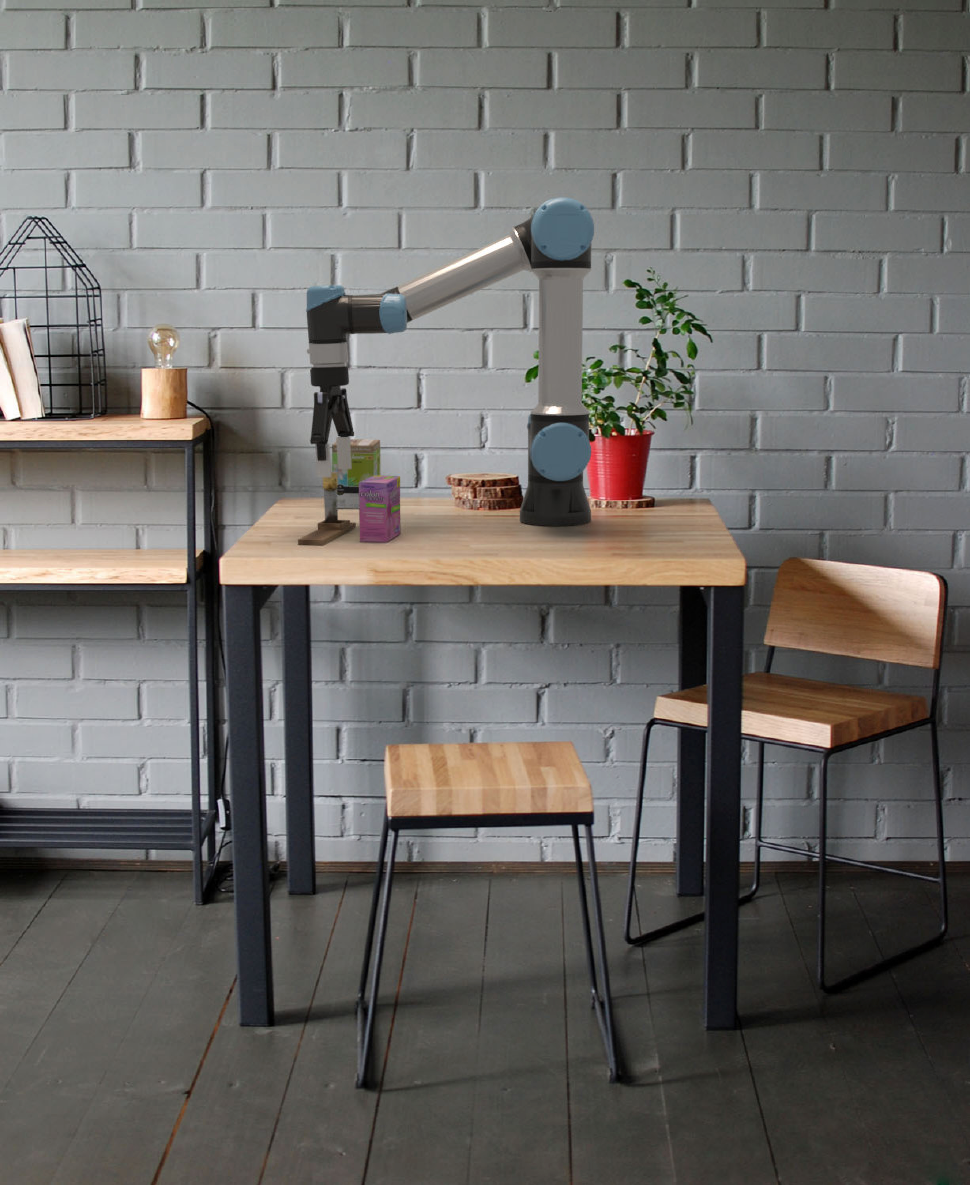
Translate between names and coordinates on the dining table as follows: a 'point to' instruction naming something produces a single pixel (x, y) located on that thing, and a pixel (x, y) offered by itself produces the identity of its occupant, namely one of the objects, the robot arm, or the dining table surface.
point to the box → (379, 508)
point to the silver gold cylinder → (330, 498)
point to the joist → (327, 532)
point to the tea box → (356, 470)
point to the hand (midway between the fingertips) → (334, 473)
